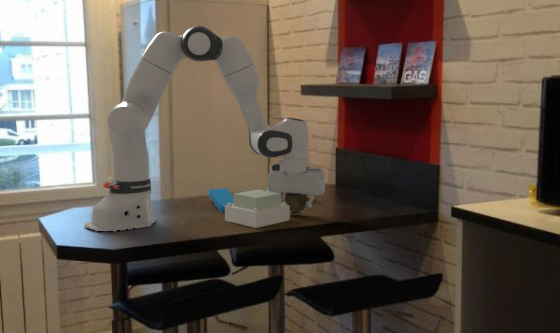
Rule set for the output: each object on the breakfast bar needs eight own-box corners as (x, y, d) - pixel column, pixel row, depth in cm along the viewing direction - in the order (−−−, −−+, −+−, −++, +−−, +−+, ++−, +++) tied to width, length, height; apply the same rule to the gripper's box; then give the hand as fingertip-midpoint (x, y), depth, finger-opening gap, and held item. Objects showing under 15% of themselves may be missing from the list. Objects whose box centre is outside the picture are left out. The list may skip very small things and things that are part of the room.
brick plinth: (255, 227, 200) (255, 199, 198) (225, 220, 210) (224, 193, 209) (289, 220, 210) (289, 193, 209) (258, 213, 221) (258, 188, 219)
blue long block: (238, 222, 229) (222, 200, 244) (239, 205, 226) (223, 183, 241) (219, 224, 226) (204, 202, 241) (221, 206, 223) (206, 185, 238)
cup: (290, 212, 222) (290, 190, 221) (310, 214, 219) (310, 191, 218) (281, 216, 215) (281, 193, 214) (301, 218, 212) (301, 195, 211)
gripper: (328, 166, 213) (328, 207, 215) (273, 163, 222) (273, 202, 224) (320, 168, 207) (320, 210, 209) (264, 165, 216) (265, 205, 218)
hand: (296, 206), depth 216 cm, fingers open, 8 cm apart
